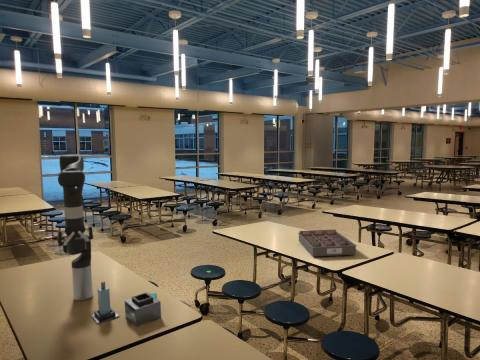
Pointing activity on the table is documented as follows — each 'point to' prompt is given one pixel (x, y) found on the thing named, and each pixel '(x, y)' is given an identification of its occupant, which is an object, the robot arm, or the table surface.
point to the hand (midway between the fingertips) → (76, 250)
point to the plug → (103, 299)
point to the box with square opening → (142, 309)
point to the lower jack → (104, 316)
